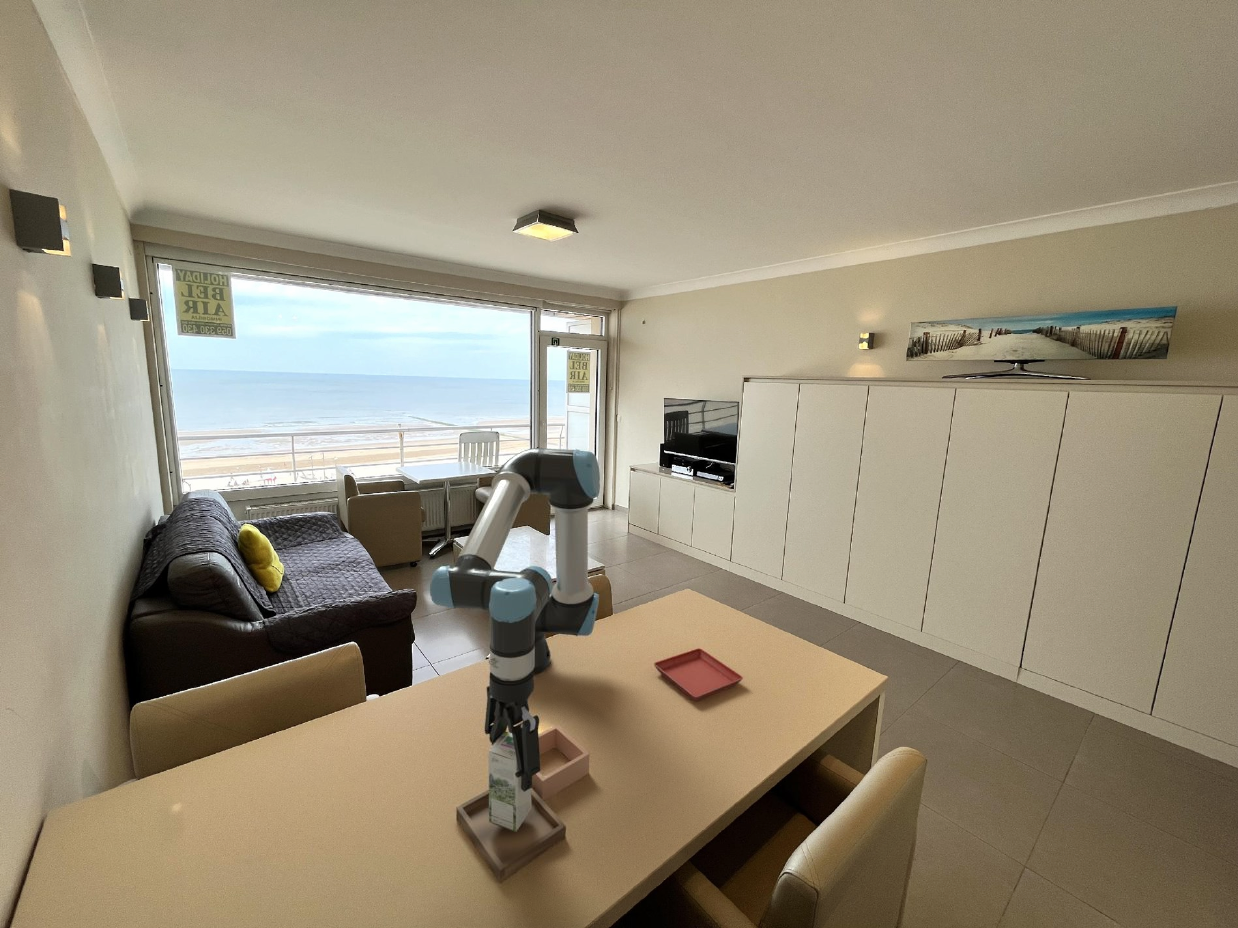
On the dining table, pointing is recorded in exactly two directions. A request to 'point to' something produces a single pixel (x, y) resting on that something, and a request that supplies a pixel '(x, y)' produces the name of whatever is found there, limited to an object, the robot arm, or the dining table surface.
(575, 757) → the holder
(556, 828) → the tray
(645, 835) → the dining table surface
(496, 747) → the syrup box
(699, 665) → the plant saucer
